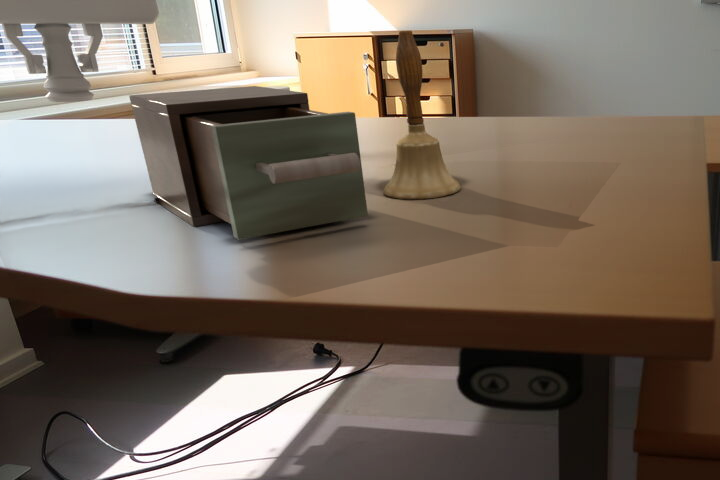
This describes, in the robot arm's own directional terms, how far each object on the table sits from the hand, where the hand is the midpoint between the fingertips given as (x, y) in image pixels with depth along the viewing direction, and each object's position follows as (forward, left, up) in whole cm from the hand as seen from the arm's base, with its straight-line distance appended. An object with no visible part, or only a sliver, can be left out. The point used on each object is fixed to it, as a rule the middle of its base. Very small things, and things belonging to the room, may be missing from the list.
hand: (63, 72), depth 77 cm
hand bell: (+28, -24, -13) cm, 39 cm away
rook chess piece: (0, 0, -3) cm, 3 cm away
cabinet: (+11, -15, -13) cm, 23 cm away
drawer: (+11, -30, -12) cm, 34 cm away
